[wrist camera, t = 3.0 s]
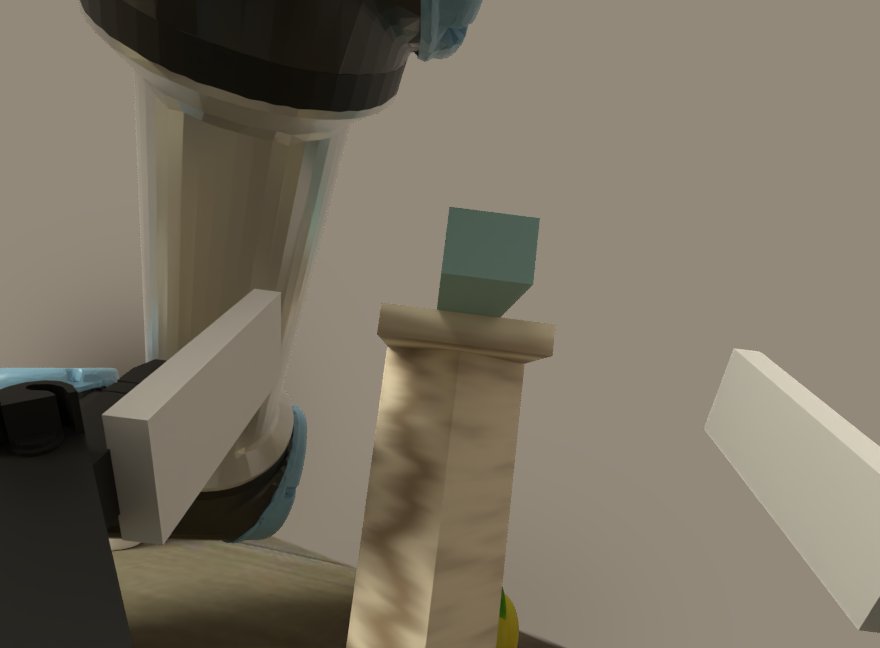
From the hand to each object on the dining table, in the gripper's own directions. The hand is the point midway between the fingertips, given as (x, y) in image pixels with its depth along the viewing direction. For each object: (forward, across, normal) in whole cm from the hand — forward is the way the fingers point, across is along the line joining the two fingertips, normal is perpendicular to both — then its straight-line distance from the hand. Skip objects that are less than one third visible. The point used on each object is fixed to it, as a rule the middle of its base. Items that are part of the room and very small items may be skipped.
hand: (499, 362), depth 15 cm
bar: (+19, 0, -6) cm, 20 cm away
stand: (+9, 0, -35) cm, 36 cm away
